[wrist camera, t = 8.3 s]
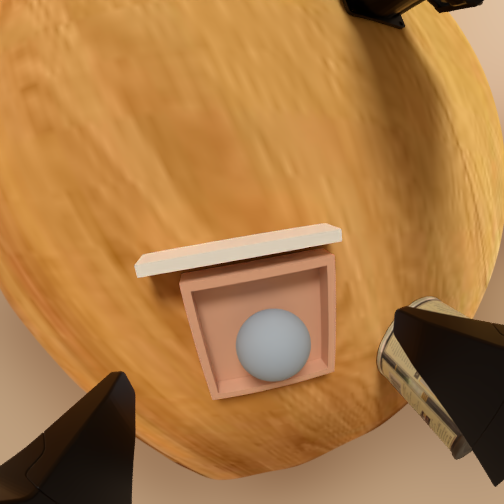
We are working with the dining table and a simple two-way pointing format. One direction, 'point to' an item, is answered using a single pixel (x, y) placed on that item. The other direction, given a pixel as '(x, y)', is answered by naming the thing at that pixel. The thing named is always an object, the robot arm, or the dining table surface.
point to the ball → (273, 345)
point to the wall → (236, 249)
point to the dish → (252, 301)
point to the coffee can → (420, 382)
